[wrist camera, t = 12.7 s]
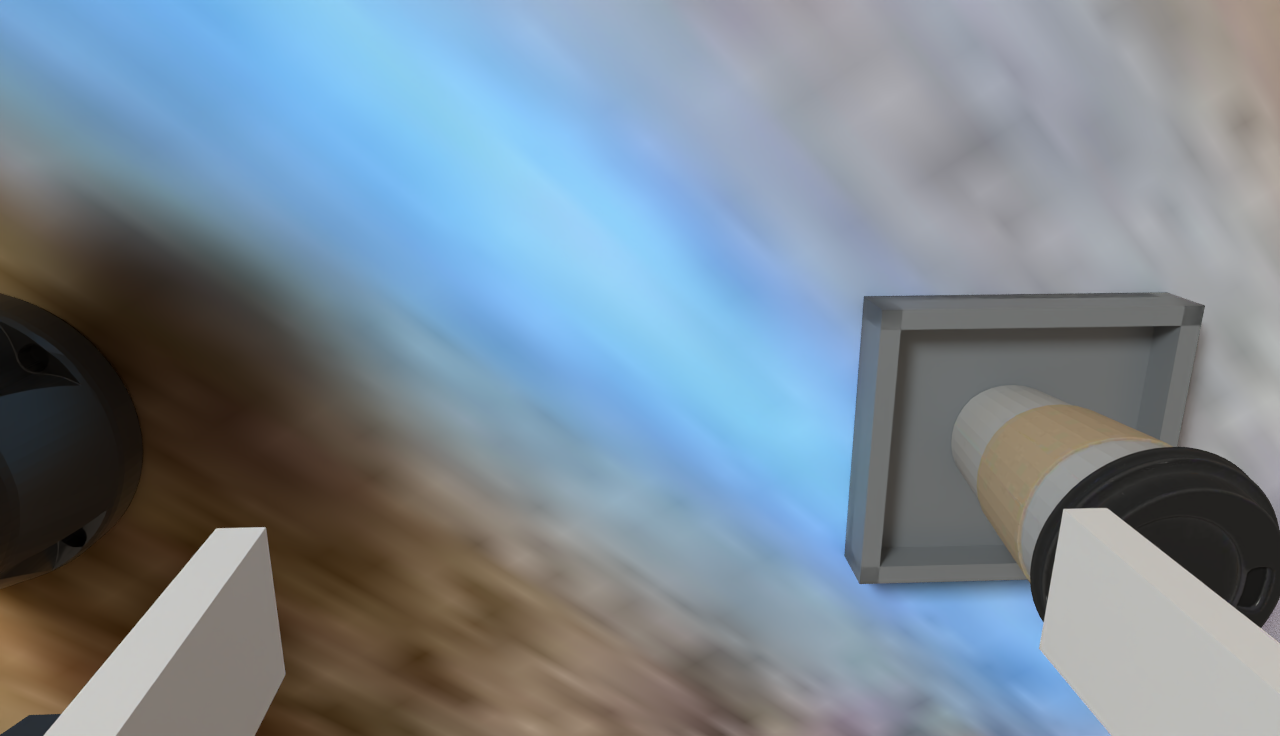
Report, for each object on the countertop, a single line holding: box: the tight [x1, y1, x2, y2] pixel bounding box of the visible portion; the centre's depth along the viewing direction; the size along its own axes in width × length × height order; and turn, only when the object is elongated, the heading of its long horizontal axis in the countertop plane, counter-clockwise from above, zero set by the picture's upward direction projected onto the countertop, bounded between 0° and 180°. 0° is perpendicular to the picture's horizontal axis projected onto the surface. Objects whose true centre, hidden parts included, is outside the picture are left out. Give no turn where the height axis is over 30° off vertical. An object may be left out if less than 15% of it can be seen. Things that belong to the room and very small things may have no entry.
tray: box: [845, 292, 1205, 584], centre depth 46 cm, size 16×15×3 cm
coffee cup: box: [951, 385, 1280, 628], centre depth 39 cm, size 9×9×15 cm
